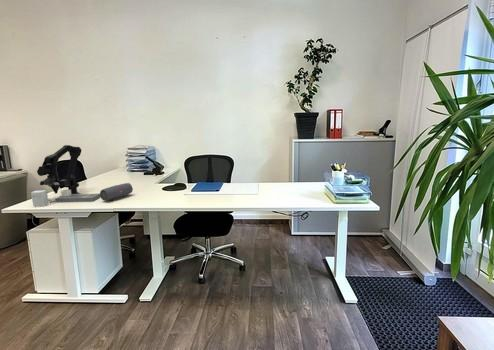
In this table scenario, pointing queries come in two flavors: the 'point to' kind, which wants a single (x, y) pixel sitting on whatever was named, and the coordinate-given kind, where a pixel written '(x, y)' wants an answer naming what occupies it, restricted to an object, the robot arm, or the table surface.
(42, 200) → the small box
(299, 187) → the table surface
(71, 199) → the console
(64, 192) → the fader tab
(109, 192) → the bluetooth speaker
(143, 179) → the table surface
